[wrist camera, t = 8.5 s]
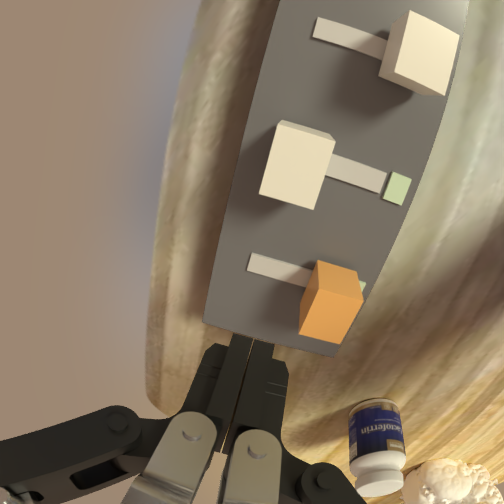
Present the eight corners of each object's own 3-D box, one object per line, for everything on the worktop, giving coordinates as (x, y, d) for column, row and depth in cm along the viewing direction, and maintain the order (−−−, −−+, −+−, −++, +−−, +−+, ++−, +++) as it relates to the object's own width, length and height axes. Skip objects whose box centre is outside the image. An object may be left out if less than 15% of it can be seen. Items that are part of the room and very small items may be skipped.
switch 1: (266, 177, 17) (258, 193, 14) (282, 119, 15) (277, 124, 12) (311, 190, 17) (313, 209, 14) (329, 133, 15) (335, 141, 12)
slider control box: (319, -99, 10) (320, -125, 7) (455, -48, 10) (476, -65, 7) (213, 294, 26) (201, 323, 22) (331, 327, 25) (333, 359, 22)
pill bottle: (403, 394, 28) (417, 475, 20) (390, 422, 31) (399, 496, 22) (352, 397, 29) (356, 482, 21) (344, 425, 32) (344, 501, 23)
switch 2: (300, 302, 20) (298, 334, 17) (317, 259, 18) (319, 288, 16) (336, 312, 20) (339, 344, 17) (356, 271, 18) (363, 300, 16)
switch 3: (378, 76, 13) (394, 71, 11) (392, 23, 12) (409, 10, 9) (421, 94, 13) (444, 95, 11) (435, 43, 12) (459, 35, 9)
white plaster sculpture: (411, 505, 26) (505, 543, 16) (453, 406, 40) (529, 446, 30) (355, 531, 36) (434, 566, 26) (403, 454, 50) (470, 489, 39)
